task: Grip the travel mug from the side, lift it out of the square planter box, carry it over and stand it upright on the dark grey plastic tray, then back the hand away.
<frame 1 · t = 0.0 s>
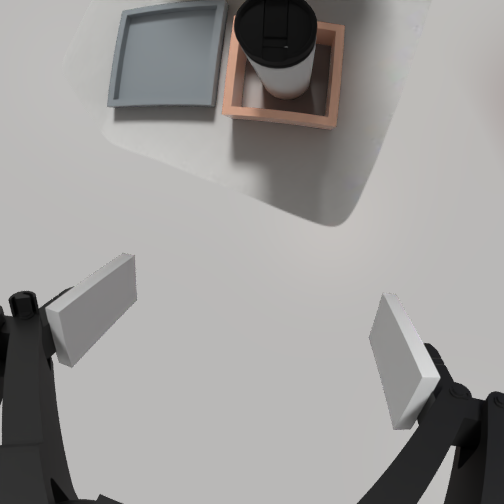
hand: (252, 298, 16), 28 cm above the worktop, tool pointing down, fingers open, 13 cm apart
square planter box: (286, 76, 36), on the worktop
grey tray: (167, 54, 37), on the worktop
travel mug: (286, 77, 37), resting in square planter box
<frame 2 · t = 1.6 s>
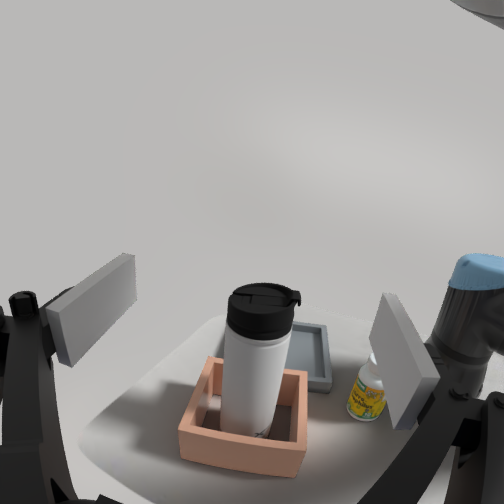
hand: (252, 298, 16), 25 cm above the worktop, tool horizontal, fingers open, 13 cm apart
supplement bottle: (362, 410, 39), on the worktop
square planter box: (245, 430, 35), on the worktop
grey tray: (279, 355, 51), on the worktop
travel mug: (245, 431, 35), resting in square planter box
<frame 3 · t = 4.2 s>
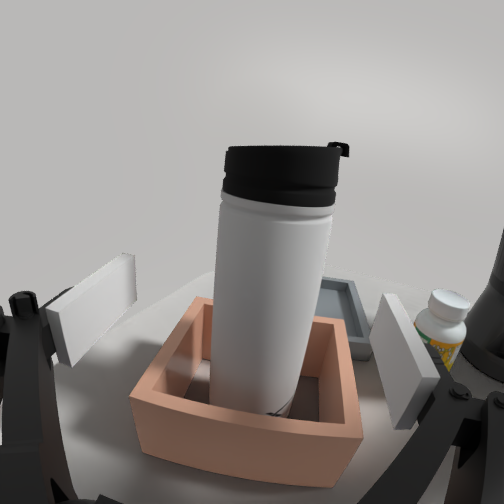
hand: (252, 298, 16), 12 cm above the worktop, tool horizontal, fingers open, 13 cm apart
supplement bottle: (416, 383, 27), on the worktop
square planter box: (250, 411, 23), on the worktop
grey tray: (296, 314, 38), on the worktop
travel mug: (250, 413, 23), resting in square planter box
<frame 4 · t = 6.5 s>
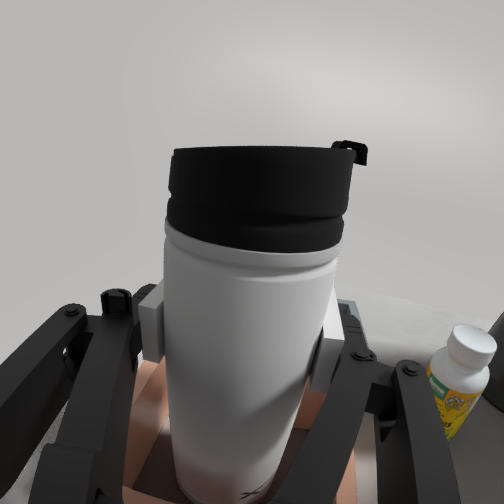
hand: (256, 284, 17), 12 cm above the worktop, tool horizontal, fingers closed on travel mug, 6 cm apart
supplement bottle: (425, 429, 21), on the worktop
square planter box: (226, 476, 17), on the worktop
grey tray: (287, 344, 32), on the worktop
travel mug: (226, 477, 17), resting in square planter box, touching gripper
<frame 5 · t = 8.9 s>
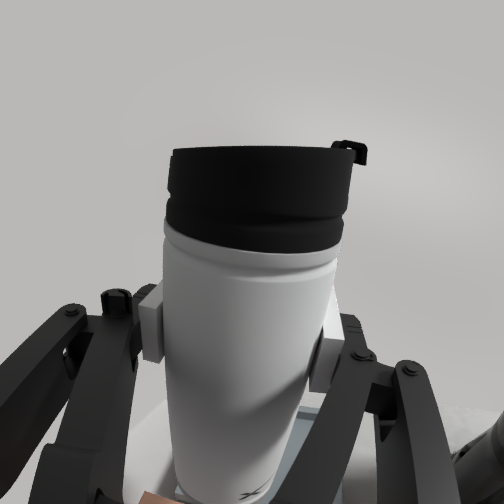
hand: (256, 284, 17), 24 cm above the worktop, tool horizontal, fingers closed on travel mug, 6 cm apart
grey tray: (267, 461, 29), on the worktop
travel mug: (226, 477, 17), point 12 cm above the worktop, touching gripper
when the fingers open (14 cm above the worktop, at t = 11.7 s): travel mug drops 2 cm, resting on grey tray.
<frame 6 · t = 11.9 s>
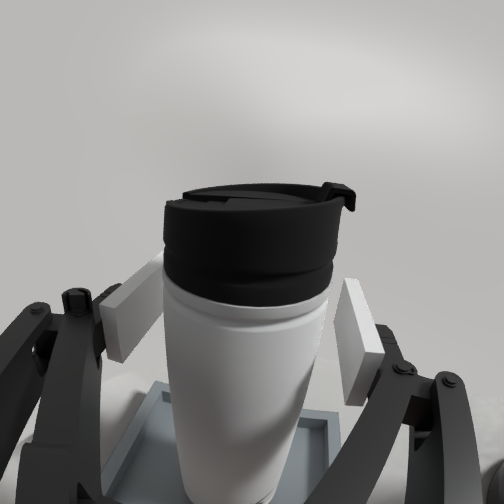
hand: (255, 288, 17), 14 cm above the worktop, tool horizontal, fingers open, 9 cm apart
grey tray: (224, 490, 18), on the worktop
travel mug: (231, 488, 17), point 1 cm above the worktop, touching grey tray
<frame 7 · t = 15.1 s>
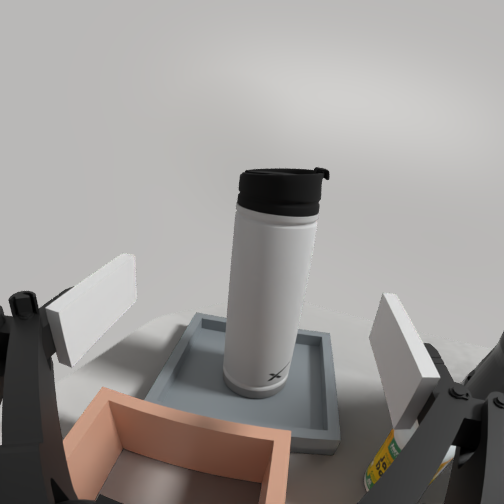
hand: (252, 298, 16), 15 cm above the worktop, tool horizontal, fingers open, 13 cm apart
supplement bottle: (391, 483, 18), on the worktop
grey tray: (250, 382, 30), on the worktop
travel mug: (256, 379, 29), point 1 cm above the worktop, touching grey tray
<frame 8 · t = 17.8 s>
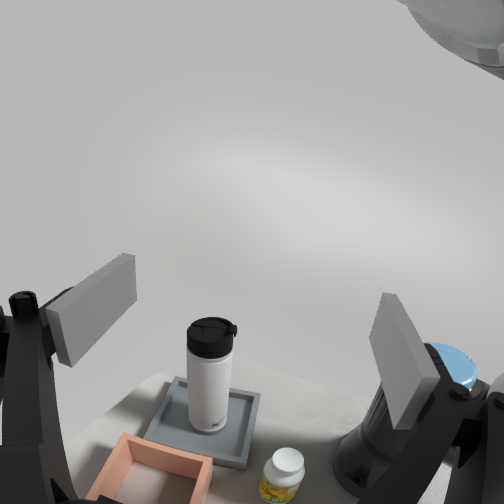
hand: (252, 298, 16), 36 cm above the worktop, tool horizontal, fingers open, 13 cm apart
supplement bottle: (276, 491, 35), on the worktop
square planter box: (156, 499, 31), on the worktop
grey tray: (205, 424, 47), on the worktop
travel mug: (208, 422, 47), point 1 cm above the worktop, touching grey tray
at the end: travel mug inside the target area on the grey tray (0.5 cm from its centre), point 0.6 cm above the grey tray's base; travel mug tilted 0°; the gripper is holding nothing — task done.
